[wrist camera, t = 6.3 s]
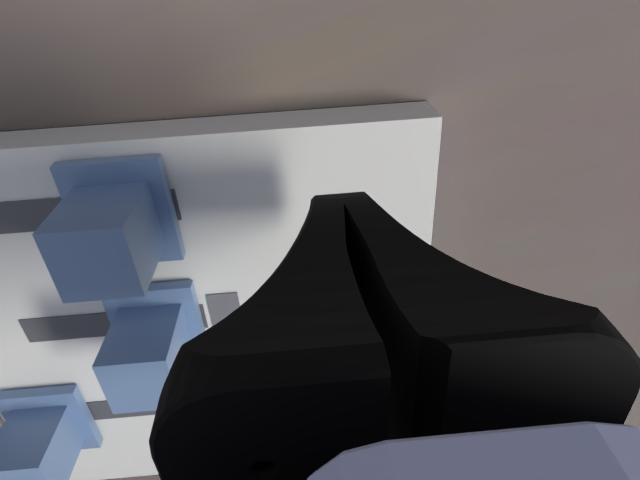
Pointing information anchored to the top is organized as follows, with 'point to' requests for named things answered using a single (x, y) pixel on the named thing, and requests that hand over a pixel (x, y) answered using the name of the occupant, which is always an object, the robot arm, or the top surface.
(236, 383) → the robot arm
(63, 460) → the switch tab
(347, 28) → the top surface
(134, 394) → the switch tab
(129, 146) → the switch board
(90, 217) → the switch tab
